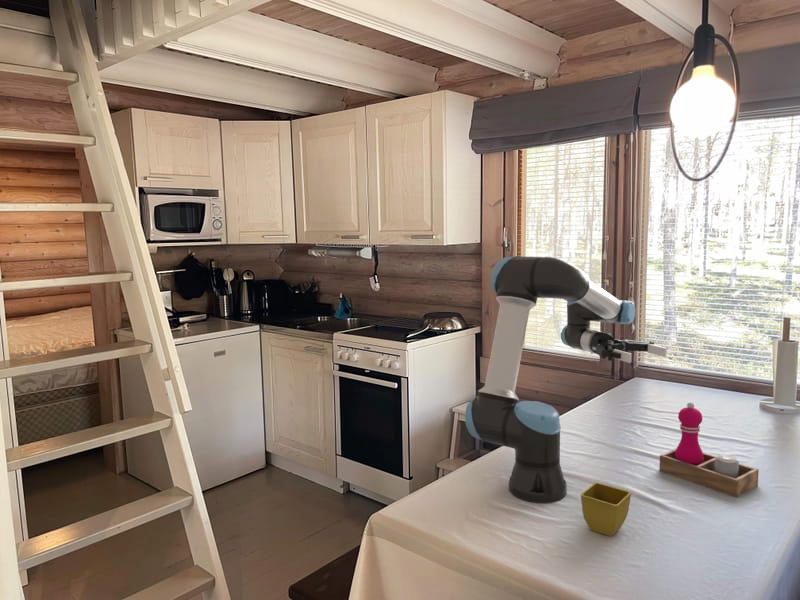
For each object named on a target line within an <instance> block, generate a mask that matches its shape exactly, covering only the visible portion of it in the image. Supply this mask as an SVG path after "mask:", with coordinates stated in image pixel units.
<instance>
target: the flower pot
mask: <svg viewBox="0 0 800 600" xmlns="http://www.w3.org/2000/svg"><path fill="white" fill-rule="evenodd" d="M631 496H632V492H631V491H628V490H625V489H622V488H620V487H619V488H618V487H616V486H615V487H614V486H611V485H608V484H604V483H600V482H594V483H593V484H591V485H590V486H589V487H588V488H586V490H584V491H583V492H582V493H581V494H580V498H581V499H580V500H581V501H580V502H581V509H582V515H583V519H584V521H585V523H586V524H587V527H589V529H590V530H591V531H593V532H597V533H600V534H602V535H606V536H608V537H612V536H614V535H615V534H616V533H617V532H618V531H619V530H620V529H621V528H622V526H623V525H624V523H625V521H626V519H627V517H628V513H629V509H630V504H631Z"/></svg>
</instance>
